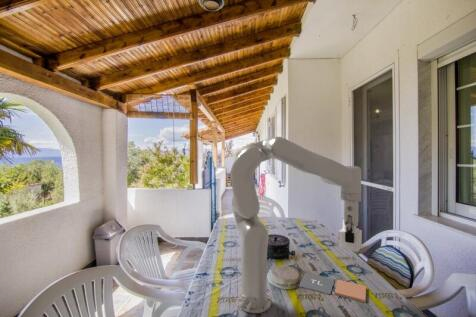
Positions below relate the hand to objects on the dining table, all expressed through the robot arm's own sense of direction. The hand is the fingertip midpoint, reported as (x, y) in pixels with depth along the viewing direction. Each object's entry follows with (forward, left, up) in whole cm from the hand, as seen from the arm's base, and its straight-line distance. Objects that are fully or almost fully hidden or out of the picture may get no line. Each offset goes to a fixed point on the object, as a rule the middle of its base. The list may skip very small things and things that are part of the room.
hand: (350, 238), depth 99 cm
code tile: (0, +13, -22) cm, 26 cm away
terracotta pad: (0, 0, -22) cm, 22 cm away
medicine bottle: (0, 0, -4) cm, 4 cm away
